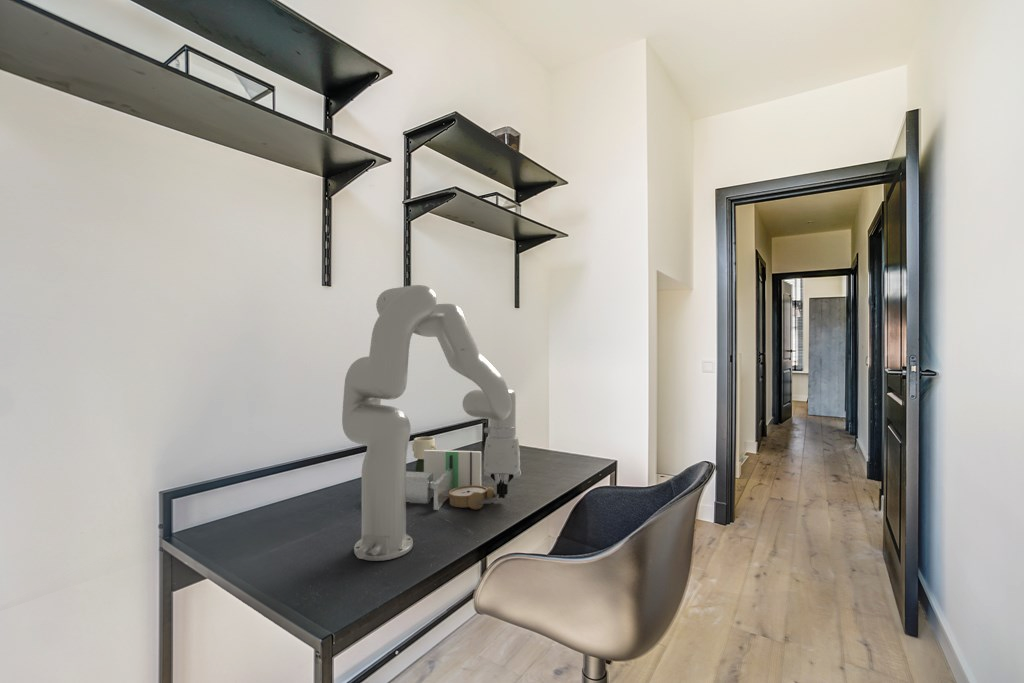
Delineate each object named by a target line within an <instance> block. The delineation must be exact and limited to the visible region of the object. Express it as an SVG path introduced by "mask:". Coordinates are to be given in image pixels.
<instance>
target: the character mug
mask: <svg viewBox="0 0 1024 683" xmlns="http://www.w3.org/2000/svg"><path fill="white" fill-rule="evenodd" d="M435 441H436V439H435V437H433V436H419V437H415V438H413V442H412V443H411V444H412V447H411V450H412V452H413V457H414V458H415V459H417V460H416V463H415V470H414V472H424V450H438V449H437V448H438V447H437V446H436V442H435Z"/></svg>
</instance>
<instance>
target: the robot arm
mask: <svg viewBox="0 0 1024 683" xmlns="http://www.w3.org/2000/svg"><path fill="white" fill-rule="evenodd" d="M375 304H376V305H375V306H376V311H377V314H378V317H377V318H376V321H375V323H374V325H373V329H372V332H371V338H370V339H371V340H370V348H369V353H368V354H369V355H368V356H363V357H359V358H358V359H356V360H355V361H353V362H352V364H350V366H349V368H348V369H347V372H346V375H345V378H344V386H343V400H342V414H341V415H342V416H341V417H342V418H341V421H342V424H341V425H342V430H343V433H344V435H345V437H346V438H347V439H349V440H350V441H351V442H353V443H356V444H359V445H362V446H366V447H367V448H366V452H365V455H364V458H363V461H362V465H361V466H362V467H361V538H360V539H359V540H358V541H357V542H356V543H355V544H354V546H353V552H354V555H355V556H356V557H357V559H361V560H365V561H370V562H372V561H373V562H381V561H382V562H383V561H388V560H393V559H397V558H400V557H402V556H404V555H406V554H407V553H409V552H410V551H411V550H412V548H413V546H414V540H413V537H411V536H410V535H409V534H407V532H406V531H407V528H406V527H407V503H406V472H407V454H408V453H407V452H408V449H409V448H408V447H409V442H410V437H411V422H410V419H409V417H408V415H406V413H404V411H402V410H401V409H399V408H397V407H396V406H395V407H394V406H390V405H384V404H381V400H387V401H388V400H389V401H391V400H395V399H398V398H400V397H401V396H402V395H403V394H404V393H405V390H406V389H407V383H408V374H409V373H408V372H409V357H410V343H411V339H412V336H413V334H415V335H417V336H420V337H424V338H426V337H427V338H430V337H431V338H436V340H437V341H438V343H439V345H440V347H441V350H442V352H443V355H444V356H445V358H446V360H447V363H448V366H449V368H451V369H452V370H453V371H455V372H456V373H458V374H459V375H461V376H463V377H465V378H467V379H468V380H470V381H472V382H473V383H475V385H476V386H478V387H479V388H480V389H474V390H471V391H469V392H467V393H466V394H465V395H464V397H463V399H462V408H463V410H464V412H465V413H466V414H467V415H468V416H471V417H474V418H480V419H487V420H489V422H488V424H489V426H488V427H484V428H483V429H484V430H483V432H484V434H485V433H486V434H487V435H488V436H487V437H486V439H485V442H484V451H483V452H484V453H483V455H484V457H483V476H485V477H489V478H491V479H492V480H493V481H494V482H495V484H496V494H497V495H498V499H505V498H506V496H507V495H508V493H509V492H508V490H509V488H508V487H509V485H508V484H509V482H510V481H512V480H513V479H515V478H516V479H517V478H520V477H521V475H522V472H521V451H520V442H519V437H518V436H516V433H517V432H516V428H517V427H516V420H517V419H516V414H517V412H516V411H517V410H516V405H517V402H516V398H517V397H516V392H515V390H514V389H511V388H508V386H507V383H506V381H505V379H504V377H503V376H502V375H501V373H500V372H499V371H498V370H497V369H496V368H495V367H494V365H492V363H490V362H489V361H488V360H487V359H486V358H485V357H484V356H483V355H482V354H481V353H480V351H479V349H478V347H477V343H476V341H475V340H474V336H473V334H472V332H471V329H470V326H469V325H468V322H467V320H466V318H465V317H466V316H465V314H464V312H463V310H462V309H461V307H459V305H456V304H453V303H437V295H436V293H435V291H434V290H433V289H432V288H431V287H429V286H427V285H422V284H421V285H420V284H414V285H413V284H412V285H406V286H400V287H392V288H388V289H386V290H384V291H383V292H381V293H380V294H379V295H378V297H377V299H376V303H375ZM501 475H504V478H503V480H502V477H501Z"/></svg>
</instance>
